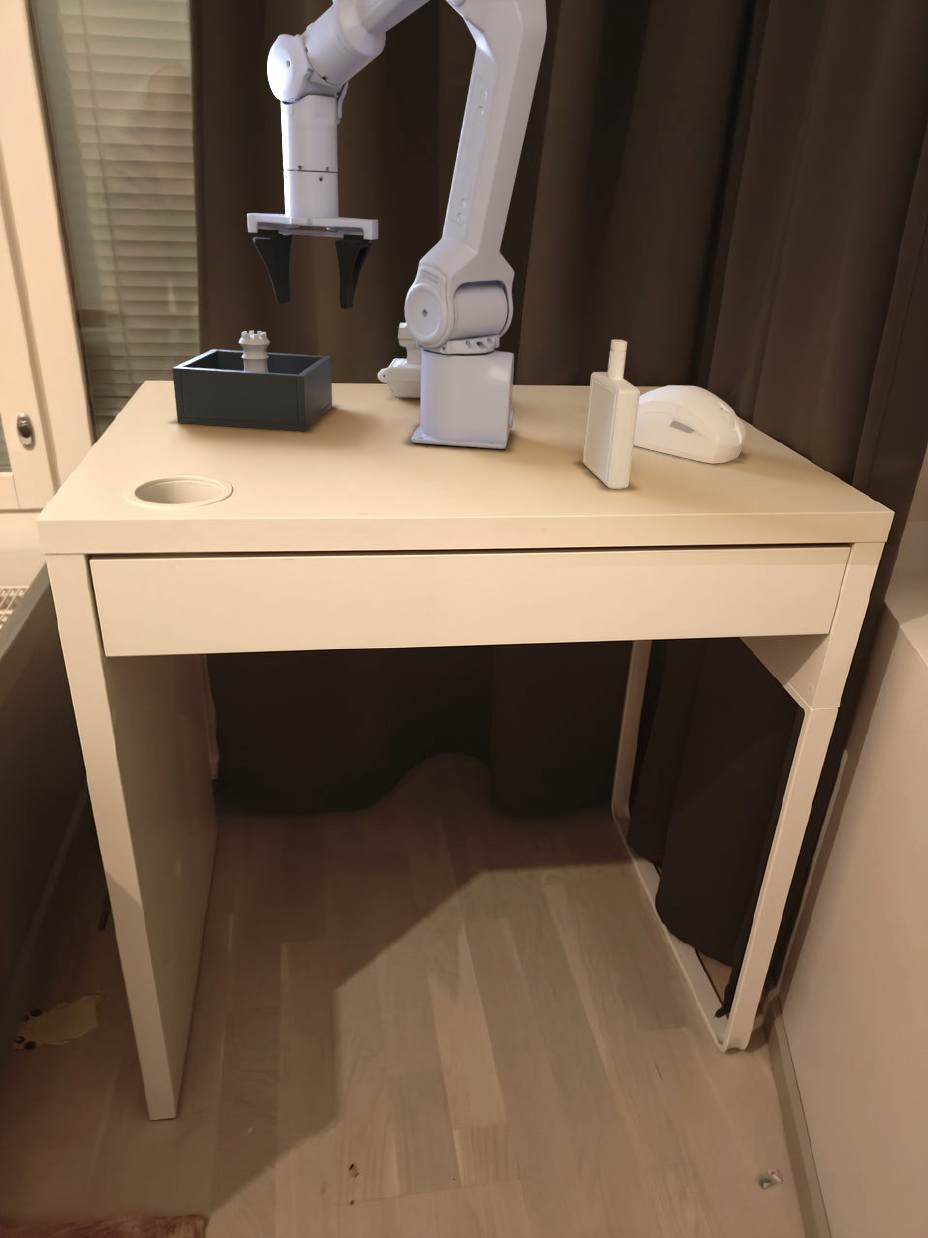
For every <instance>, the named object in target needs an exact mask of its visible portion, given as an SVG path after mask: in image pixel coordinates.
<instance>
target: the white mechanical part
mask: <svg viewBox="0 0 928 1238" xmlns="http://www.w3.org/2000/svg"><path fill="white" fill-rule="evenodd" d="M397 339H398V344H399V346H401V347H402V348H405V349H406V358H398V357H396V358H394V359H392V361H391V363H390V364H389V365H388V367H386V368H382V369H380V371H378V373H377V379H378V380H379V382H381V383H384V384H387V386H388V387H389V389H390V391H391V392H392V393H393V395H394V397H397V398H400V399H416V400H421V358H422V349H420V348H417V347H416V341H415V340H414V338H413V337H412V336H411V334H410V332H409V330H408V327H407V324H406V322H399V326H398V333H397Z"/></svg>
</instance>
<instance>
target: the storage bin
mask: <svg viewBox="0 0 928 1238" xmlns="http://www.w3.org/2000/svg"><path fill="white" fill-rule="evenodd" d="M243 353H244V351H243V350H231V349H219V348H218V349H215V348H212V349H210V350H208V351H206V352H204V353H202V354H199V355H197V356H195V357H193V358H191V359H189V360H187V361H185V362H182V363H180V364H178V365H176V366H173V367H172V368H171V369H172V379H173V390H174V399H175V401H174V402H175V409H176V410H175V411H176V417H177V418H176V420H177V423H178V424H190V425H204V426H205V425H207V426H221V427H235V428H248V429H261V430H262V429H264V430H265V429H266V430H277V431H292V432H296V431H297V432H307V431H308V430H309V429H310V428H311V427H312V426H313V425H314V424H315V423H317V422H318V421H319V420H320V419H321V418H322V417H323V416H324V415H325V414H326V413H327V412H328V411H329V410H330V409H331V408H332V407H333V383H332V381H333V380H332V357H331V356H328V355H313V354H312V355H311V354H295V353H283V352H282V353H281V352H266V353H267V355H268V356H269V357H268V359H267V367H268V372H269V373H268V372H252V371H244V359H243V358H242V355H243Z"/></svg>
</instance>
